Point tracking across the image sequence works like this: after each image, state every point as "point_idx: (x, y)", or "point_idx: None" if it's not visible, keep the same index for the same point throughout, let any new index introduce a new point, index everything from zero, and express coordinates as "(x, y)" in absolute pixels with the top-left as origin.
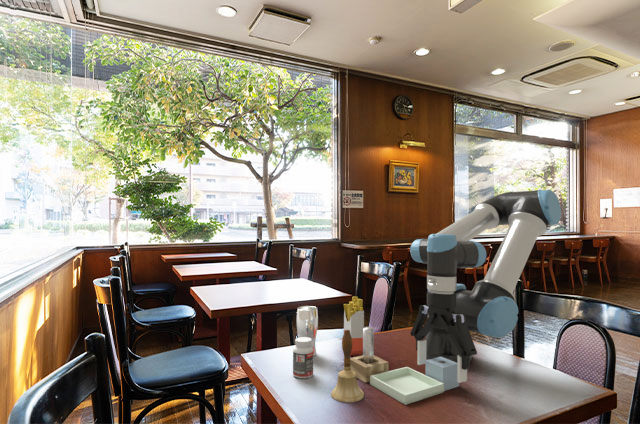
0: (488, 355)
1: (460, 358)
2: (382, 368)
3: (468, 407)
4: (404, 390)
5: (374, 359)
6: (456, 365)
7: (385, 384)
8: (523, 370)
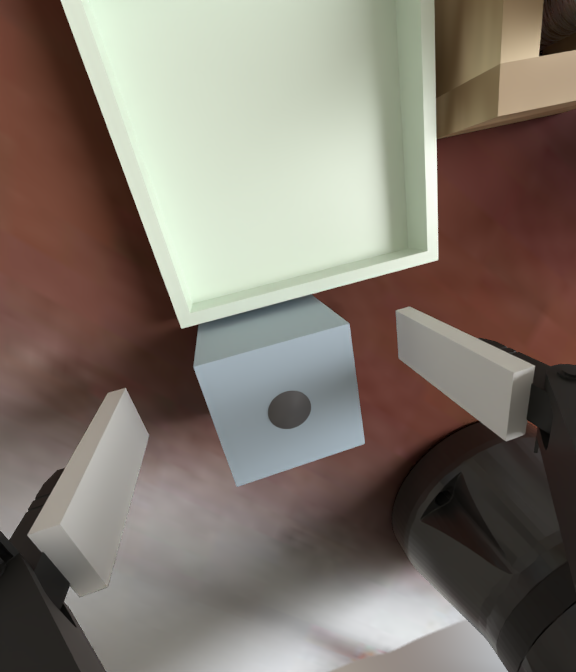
0: (413, 602)
1: (42, 518)
2: (473, 65)
3: (2, 336)
4: (235, 96)
5: None
6: (230, 465)
7: None
8: (282, 642)
